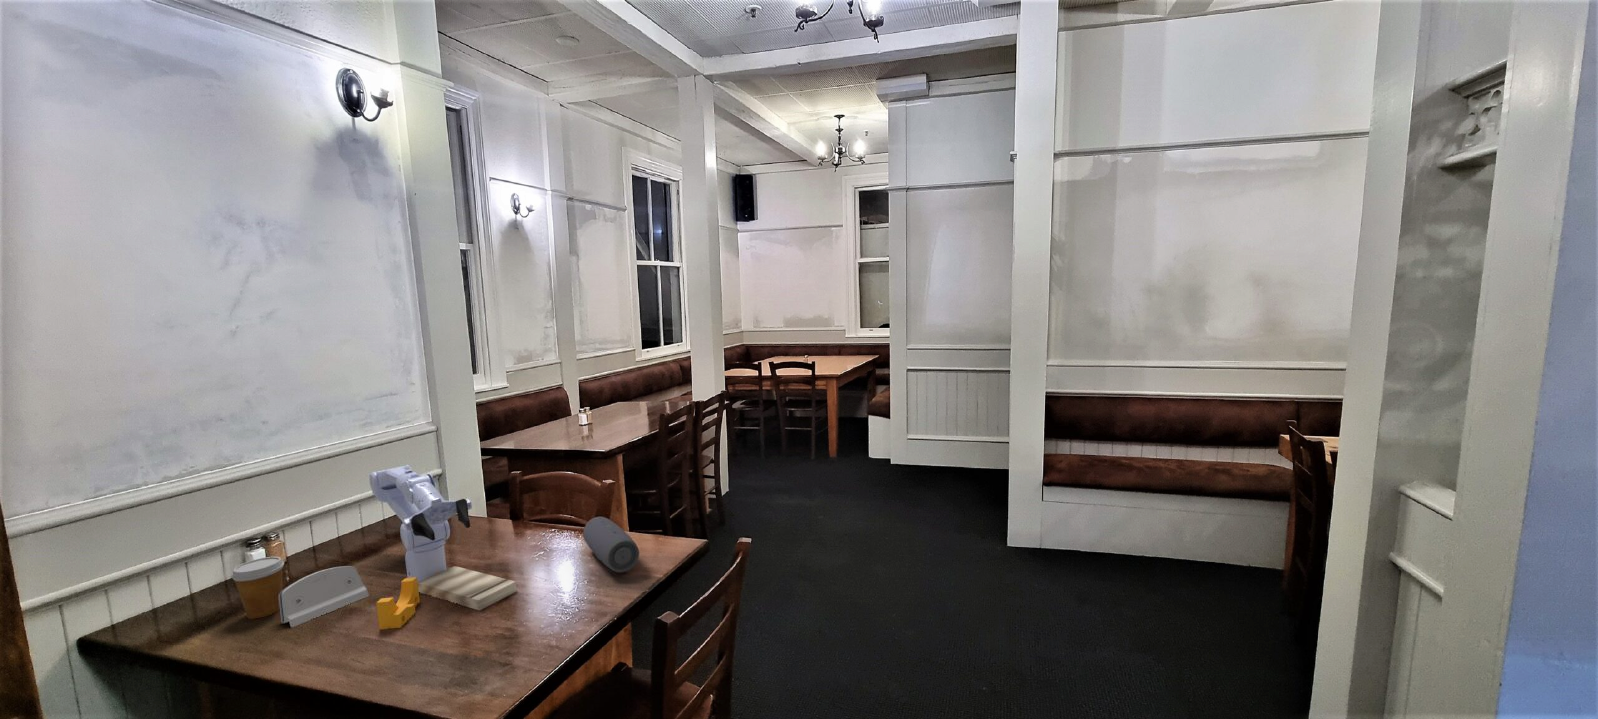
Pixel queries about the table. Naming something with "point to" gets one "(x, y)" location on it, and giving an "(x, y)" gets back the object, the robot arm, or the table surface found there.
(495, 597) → the maple board
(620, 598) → the table surface
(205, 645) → the table surface
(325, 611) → the gray arched bracket
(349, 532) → the table surface
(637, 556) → the bluetooth speaker
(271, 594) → the disposable coffee cup
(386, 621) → the pipe clamp
